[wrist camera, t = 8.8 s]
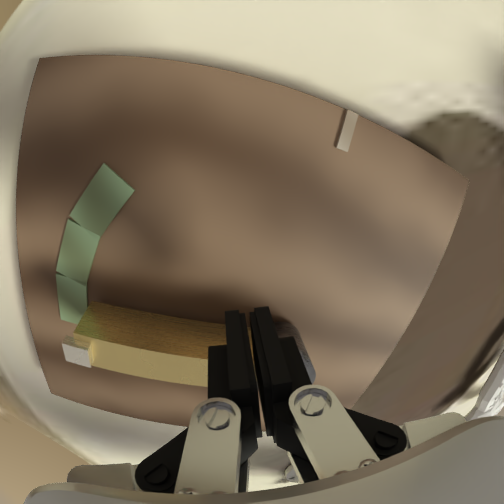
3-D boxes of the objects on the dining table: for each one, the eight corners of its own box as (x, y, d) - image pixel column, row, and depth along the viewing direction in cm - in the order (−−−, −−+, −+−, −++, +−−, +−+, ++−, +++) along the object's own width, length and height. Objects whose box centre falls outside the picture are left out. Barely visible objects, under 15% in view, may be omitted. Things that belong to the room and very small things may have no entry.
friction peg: (307, 324, 15) (326, 366, 12) (290, 360, 17) (304, 403, 13) (84, 288, 13) (58, 328, 10) (88, 331, 14) (69, 372, 11)
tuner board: (329, 412, 24) (335, 428, 22) (58, 377, 18) (50, 394, 16) (450, 174, 15) (471, 181, 13) (57, 64, 10) (37, 57, 8)
